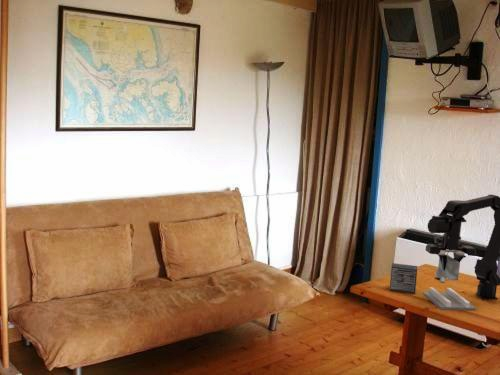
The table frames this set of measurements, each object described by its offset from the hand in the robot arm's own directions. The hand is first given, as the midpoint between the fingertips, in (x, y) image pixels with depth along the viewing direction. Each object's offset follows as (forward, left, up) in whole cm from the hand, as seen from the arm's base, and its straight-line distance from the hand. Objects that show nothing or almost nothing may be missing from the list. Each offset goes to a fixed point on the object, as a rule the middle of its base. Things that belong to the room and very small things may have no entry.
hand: (448, 270), depth 245 cm
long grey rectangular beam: (0, 0, -2) cm, 2 cm away
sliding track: (0, +3, -12) cm, 12 cm away
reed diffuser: (-11, -28, -12) cm, 33 cm away
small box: (+14, -11, -12) cm, 22 cm away
